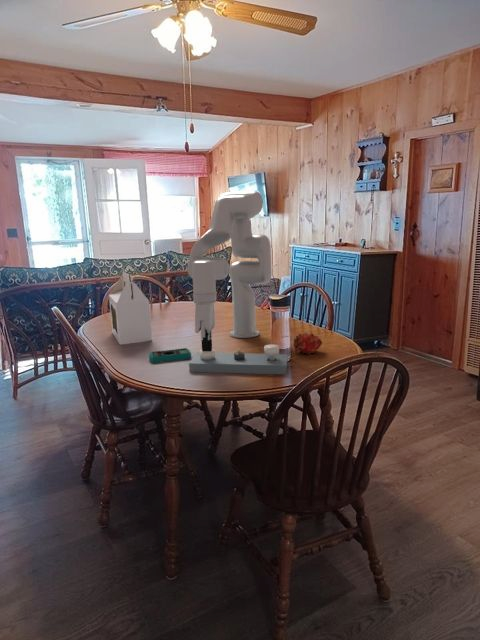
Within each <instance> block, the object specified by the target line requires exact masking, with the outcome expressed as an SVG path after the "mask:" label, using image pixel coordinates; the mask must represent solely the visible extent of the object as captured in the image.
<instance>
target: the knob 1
mask: <svg viewBox="0 0 480 640" xmlns="http://www.w3.org/2000/svg"><path fill="white" fill-rule="evenodd" d="M199 353H200V358H201V359H203V360H210V359H214V358H215V353H216V351H215V349H214V348H212V350H211V351H202V349H200V350H199Z"/></svg>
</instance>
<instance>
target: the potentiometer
mask: <svg viewBox="0 0 480 640" xmlns="http://www.w3.org/2000/svg"><path fill="white" fill-rule="evenodd" d="M233 353H234V359H235V360H244V359H245V352H243V351H242V349H241V348H237V352H233Z"/></svg>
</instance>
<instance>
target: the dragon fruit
mask: <svg viewBox="0 0 480 640" xmlns="http://www.w3.org/2000/svg"><path fill="white" fill-rule="evenodd" d="M322 344H323V341H322V340H321V338H319V336H317V335H314V333H313V332H310V333H308V332H305V333H298V335H296V337H294V339H293V348H294V350H295V351H296V352H300V354H301V353H302V354H301V355H303V354H304V353H305V354H308V355H310V354H312V353H313V354H317V353H318V350H319V349H320V347H321V346H322Z"/></svg>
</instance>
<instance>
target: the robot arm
mask: <svg viewBox="0 0 480 640" xmlns="http://www.w3.org/2000/svg"><path fill="white" fill-rule="evenodd" d="M263 199H264V198H263V196H262V194H261V193H260V192H259V191H256V190H255V191H254V190H252V191H251V190H250V191H249V190H248V191H230V192H229V191H227V192H224V193H221V194H220V195H219V196H218V198H217V199H215V201H214V202H215V203H214V206H213V210H212V211H213V212H212V214H211V215H212V216H211V220H210V222H209V228H208V230H207V231H206V232H205V233H204V234H203V235H201V236H200V237H199V238H198V239H197V240H196V242H195V243H194V244H193V245H192V248H191V250H190V254H189V258H188V260H187V261H188V263H187V274H188V276H190V278H191V279H192V291H193V294H192V295H193V303H194V304H195V307H194V312H195V313H194V331H195V333H196V334H198V333H199V332H200V335H201V336H200V338H201V350H202V351H211V350H212V349H213V339H212V337H213V336H212V331H213V329H214V328H215V324H216V322H215V321H216V320H215V304H216V303H217V287H216V286H217V285H216V284H217V281H218V280H219V281H221V280H224V279H226V278H227V277H228V276H229V278H230V282H231V283H230V284H231V296H232V297H231V298H232V327H233V329H232V330H231V331H229V336H230V337H232V338H236V339H250V338H254V337H255V338H256V337H257V336H259V335H260V331H259V330H257V329H256V295H255V291H254V289H253V288H252V286H251V285H267V284H269V283H270V282H271V280H272V254H271V253H272V250H271V242H270V238H269V237H268V236H267V235H265V234H261V233H259V234H253V233H252V222H251V219H253V218H254V217H256V216H257V215H259V214H260V212H261V211H262V209H263V204H264V200H263ZM229 240H230V243H231V252H232V255H233V257H235V258H238V259H257V260H238V261H234V262H232V264H231V265H230V264H229V261H227V260H226V259H225V258H222V257H203V256H204V255H205V254H206V253H207V252H208V251H210V250H211V249H213V248H215V247H218V246H220V245H223V244H225V243H226V242H229Z"/></svg>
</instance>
